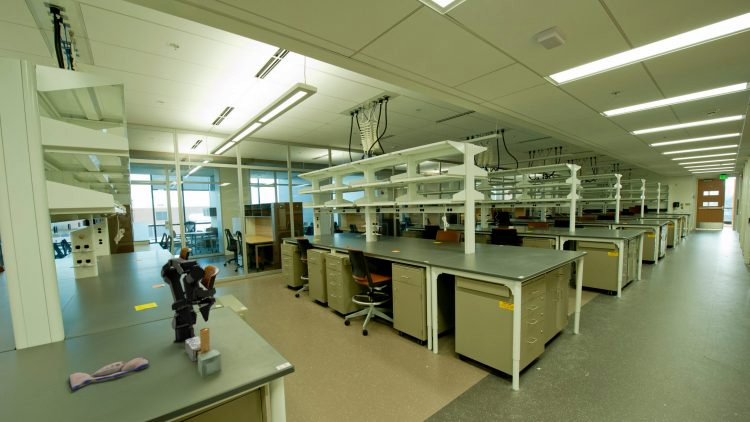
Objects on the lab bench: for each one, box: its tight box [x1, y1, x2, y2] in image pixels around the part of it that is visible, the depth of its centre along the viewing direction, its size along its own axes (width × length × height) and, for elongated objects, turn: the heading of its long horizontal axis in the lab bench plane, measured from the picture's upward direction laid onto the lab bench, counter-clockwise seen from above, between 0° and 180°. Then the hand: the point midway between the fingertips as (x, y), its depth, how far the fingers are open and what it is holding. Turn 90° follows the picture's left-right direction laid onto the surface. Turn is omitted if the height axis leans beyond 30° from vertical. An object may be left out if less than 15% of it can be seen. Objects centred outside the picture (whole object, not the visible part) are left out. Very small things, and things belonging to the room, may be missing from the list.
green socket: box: [197, 349, 222, 378], centre depth 103 cm, size 6×6×6 cm
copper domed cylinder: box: [196, 327, 211, 357], centre depth 109 cm, size 20×3×13 cm, turn 46°
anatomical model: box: [68, 356, 150, 391], centre depth 104 cm, size 20×3×15 cm
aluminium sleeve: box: [184, 335, 201, 362], centre depth 116 cm, size 12×5×5 cm, turn 46°
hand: (198, 322), depth 118 cm, fingers open, 9 cm apart
